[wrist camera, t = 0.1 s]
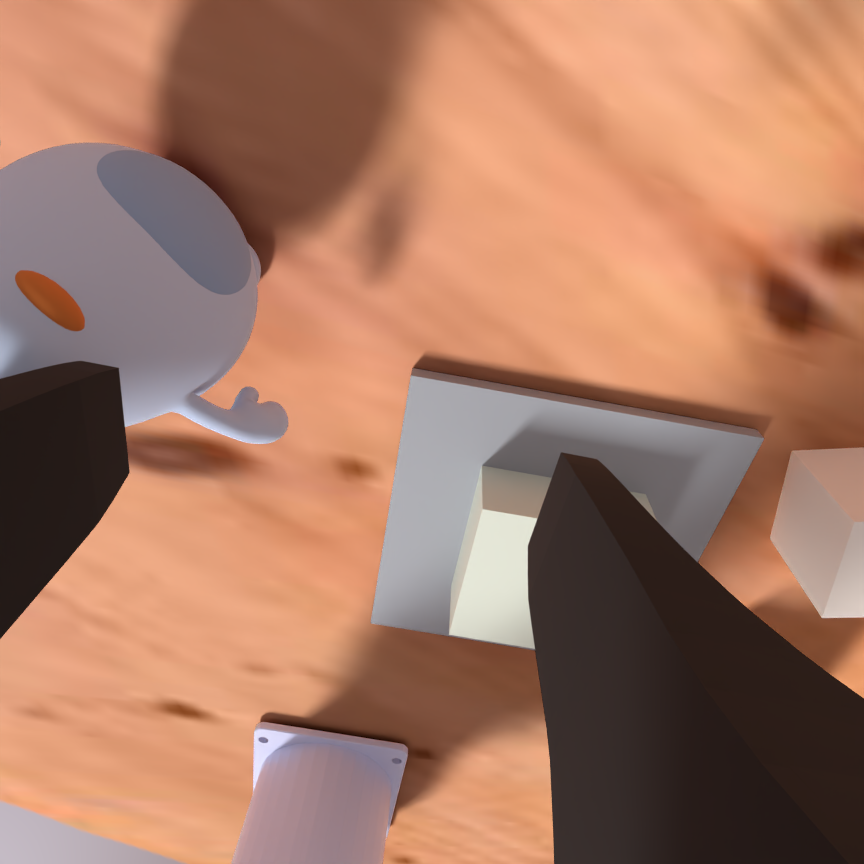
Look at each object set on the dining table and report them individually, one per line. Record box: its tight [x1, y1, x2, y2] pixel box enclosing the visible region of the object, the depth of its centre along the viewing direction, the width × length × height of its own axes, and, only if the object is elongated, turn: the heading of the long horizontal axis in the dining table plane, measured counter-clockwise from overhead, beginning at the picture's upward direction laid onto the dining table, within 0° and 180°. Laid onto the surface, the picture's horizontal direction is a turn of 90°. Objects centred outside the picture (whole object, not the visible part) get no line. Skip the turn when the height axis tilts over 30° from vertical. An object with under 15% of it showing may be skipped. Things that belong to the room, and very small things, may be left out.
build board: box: [371, 368, 764, 650], centre depth 23 cm, size 12×12×1 cm
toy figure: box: [0, 143, 288, 444], centre depth 13 cm, size 11×6×12 cm, turn 38°
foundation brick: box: [449, 466, 657, 649], centre depth 21 cm, size 6×6×2 cm
